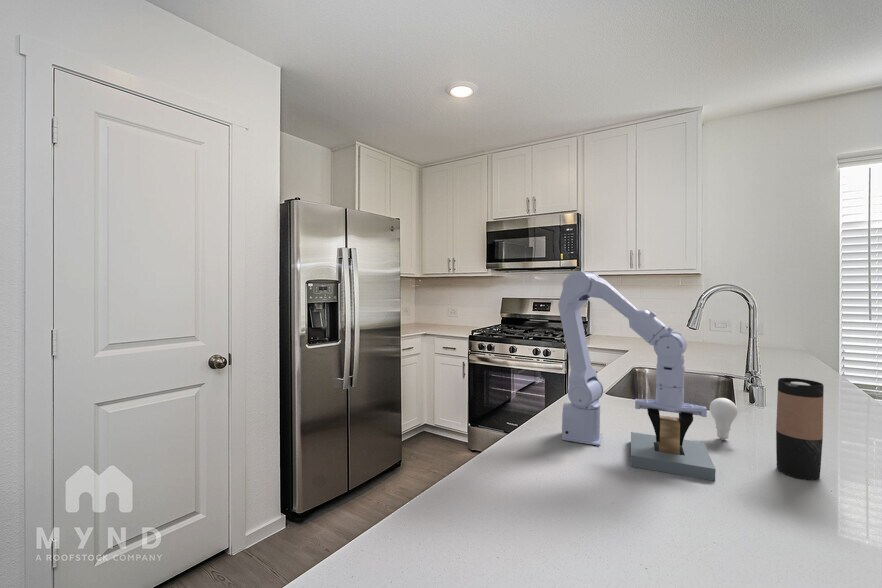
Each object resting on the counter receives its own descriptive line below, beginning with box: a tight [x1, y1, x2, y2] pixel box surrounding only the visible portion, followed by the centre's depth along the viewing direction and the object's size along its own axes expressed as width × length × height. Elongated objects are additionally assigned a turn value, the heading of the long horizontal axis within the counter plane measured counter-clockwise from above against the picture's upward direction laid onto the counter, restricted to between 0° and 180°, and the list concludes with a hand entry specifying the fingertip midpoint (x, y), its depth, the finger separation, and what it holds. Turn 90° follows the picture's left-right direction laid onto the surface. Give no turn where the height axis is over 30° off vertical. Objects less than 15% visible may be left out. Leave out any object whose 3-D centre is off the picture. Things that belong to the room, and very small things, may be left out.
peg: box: [659, 415, 680, 455], centre depth 97 cm, size 4×4×8 cm
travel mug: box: [775, 377, 825, 481], centre depth 90 cm, size 8×8×20 cm
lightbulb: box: [709, 397, 739, 441], centre depth 109 cm, size 6×6×11 cm
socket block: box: [630, 431, 717, 482], centre depth 97 cm, size 16×16×2 cm
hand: (668, 442), depth 97 cm, fingers closed on peg, 4 cm apart
